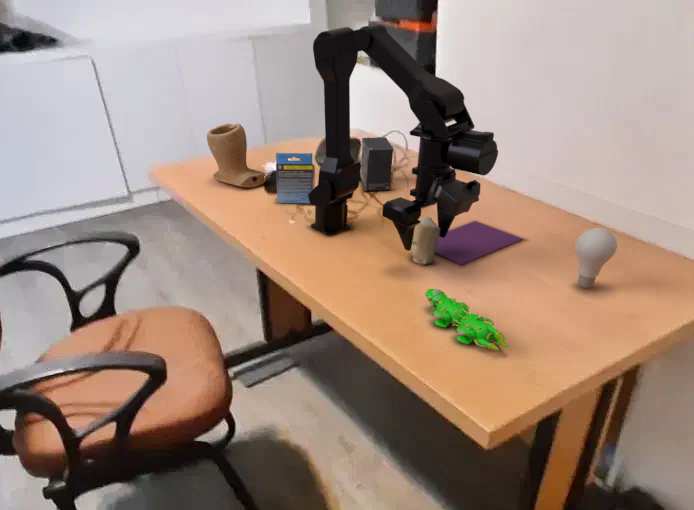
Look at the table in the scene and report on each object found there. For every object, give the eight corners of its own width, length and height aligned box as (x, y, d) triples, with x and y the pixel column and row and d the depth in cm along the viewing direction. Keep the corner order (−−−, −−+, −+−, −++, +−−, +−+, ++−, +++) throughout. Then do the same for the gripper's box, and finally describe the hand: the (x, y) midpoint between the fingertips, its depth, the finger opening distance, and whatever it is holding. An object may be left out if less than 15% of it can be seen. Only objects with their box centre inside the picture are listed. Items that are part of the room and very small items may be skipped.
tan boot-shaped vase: (202, 182, 169) (196, 125, 160) (236, 171, 175) (232, 116, 166) (237, 195, 158) (233, 136, 150) (272, 183, 164) (270, 125, 156)
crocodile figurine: (441, 300, 109) (444, 278, 107) (518, 351, 95) (524, 327, 93) (410, 309, 107) (412, 287, 105) (484, 363, 93) (488, 339, 91)
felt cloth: (461, 265, 120) (461, 264, 119) (415, 245, 128) (415, 243, 128) (522, 239, 127) (522, 238, 127) (475, 222, 136) (475, 221, 136)
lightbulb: (571, 276, 113) (585, 219, 107) (608, 285, 110) (625, 226, 104) (560, 290, 110) (575, 231, 104) (598, 299, 106) (616, 240, 100)
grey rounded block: (444, 259, 122) (449, 221, 118) (428, 268, 119) (433, 229, 115) (419, 251, 126) (423, 213, 121) (403, 260, 123) (407, 222, 119)
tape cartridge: (315, 198, 153) (315, 148, 147) (313, 204, 150) (313, 153, 143) (279, 197, 156) (278, 148, 149) (276, 203, 152) (275, 153, 146)
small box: (391, 190, 155) (394, 148, 149) (365, 192, 155) (367, 149, 149) (384, 176, 163) (387, 135, 157) (359, 177, 164) (361, 137, 158)
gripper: (430, 187, 102) (421, 272, 111) (506, 162, 110) (492, 243, 118) (383, 171, 110) (377, 251, 119) (457, 148, 118) (446, 225, 126)
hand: (425, 243), depth 120 cm, fingers open, 9 cm apart
